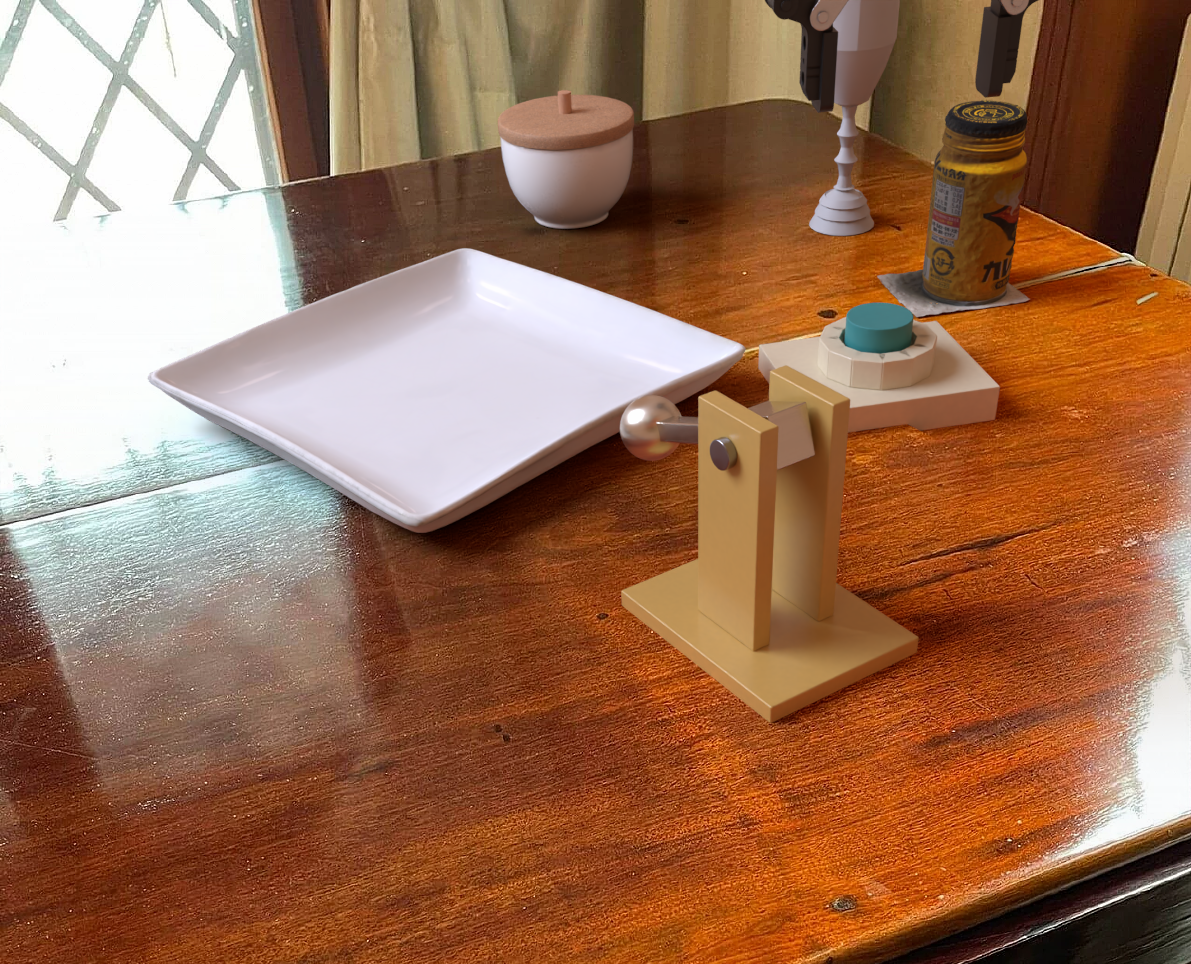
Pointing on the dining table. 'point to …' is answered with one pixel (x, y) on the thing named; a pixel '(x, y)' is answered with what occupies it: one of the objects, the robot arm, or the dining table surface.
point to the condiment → (970, 214)
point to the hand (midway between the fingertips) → (904, 100)
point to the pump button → (878, 328)
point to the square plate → (444, 381)
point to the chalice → (855, 105)
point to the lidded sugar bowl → (568, 156)
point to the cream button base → (893, 378)
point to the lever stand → (770, 562)
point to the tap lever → (660, 428)
